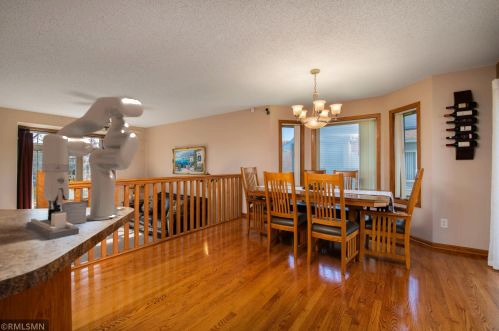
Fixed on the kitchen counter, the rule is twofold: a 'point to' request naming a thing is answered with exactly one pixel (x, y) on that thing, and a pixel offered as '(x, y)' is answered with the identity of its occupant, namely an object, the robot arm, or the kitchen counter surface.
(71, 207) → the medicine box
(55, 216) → the fader tab
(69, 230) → the console board
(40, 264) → the kitchen counter surface
